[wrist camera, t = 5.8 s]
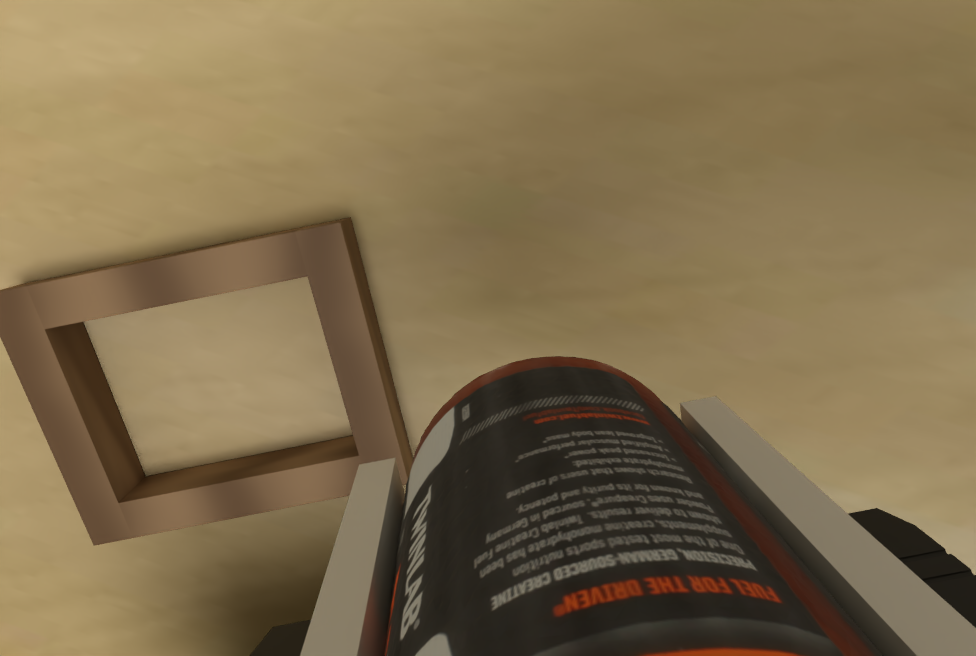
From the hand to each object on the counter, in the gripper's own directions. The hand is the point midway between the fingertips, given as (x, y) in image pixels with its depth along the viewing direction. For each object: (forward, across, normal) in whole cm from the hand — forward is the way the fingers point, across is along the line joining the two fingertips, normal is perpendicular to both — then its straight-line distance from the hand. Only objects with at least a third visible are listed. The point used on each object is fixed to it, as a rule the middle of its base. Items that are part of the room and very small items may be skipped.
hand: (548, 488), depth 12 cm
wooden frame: (+18, +14, +1) cm, 23 cm away
